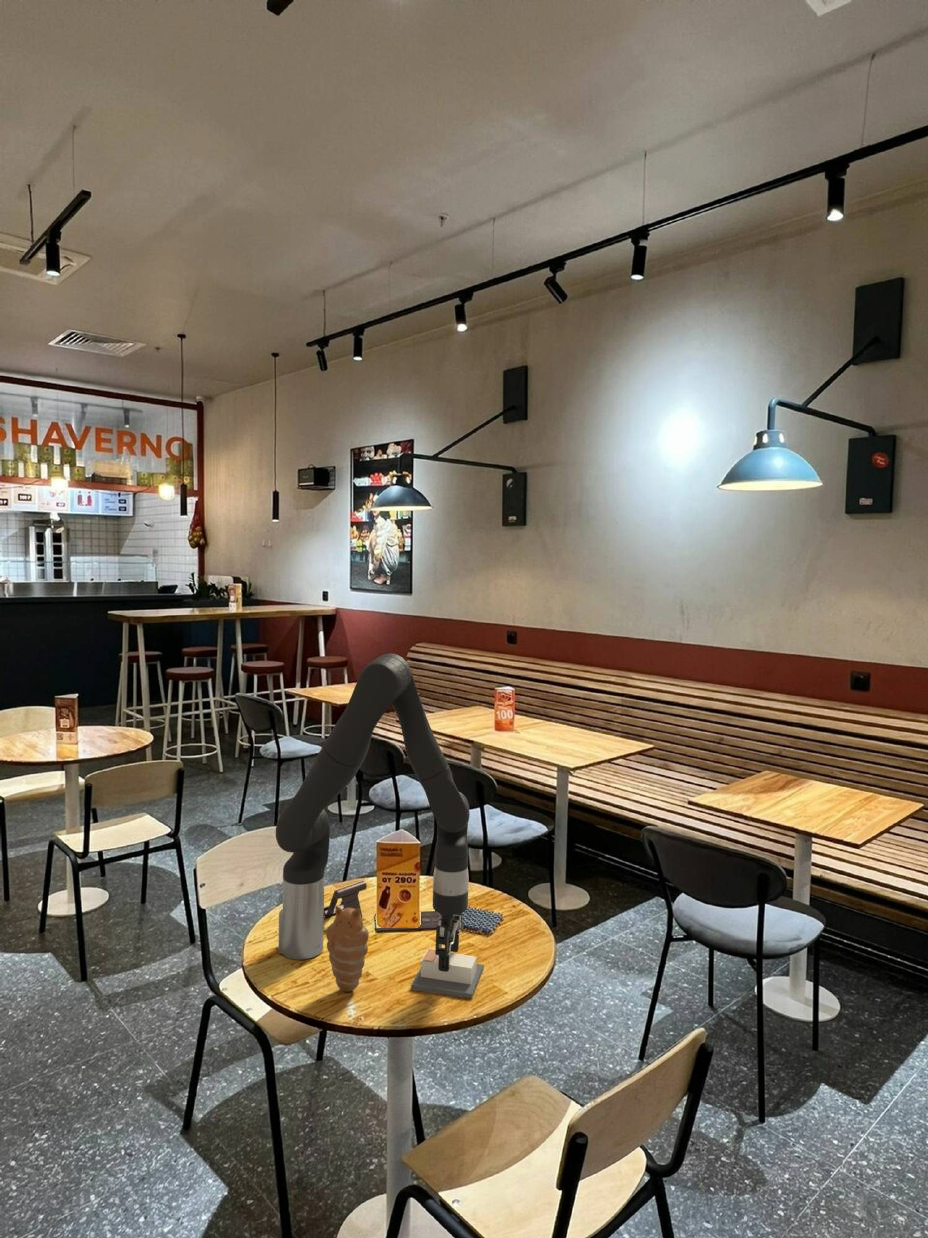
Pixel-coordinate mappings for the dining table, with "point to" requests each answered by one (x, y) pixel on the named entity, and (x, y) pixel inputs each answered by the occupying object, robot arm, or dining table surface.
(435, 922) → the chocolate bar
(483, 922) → the woven mat
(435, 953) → the robot arm
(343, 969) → the cat ice cream
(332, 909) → the portable electronic device stand
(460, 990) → the rubber mat
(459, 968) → the block with tan end
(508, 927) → the dining table surface
